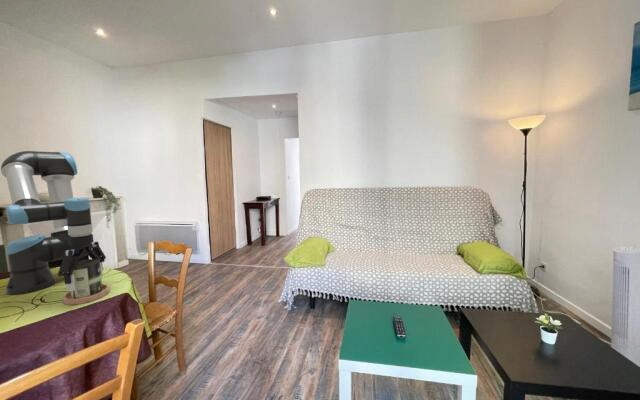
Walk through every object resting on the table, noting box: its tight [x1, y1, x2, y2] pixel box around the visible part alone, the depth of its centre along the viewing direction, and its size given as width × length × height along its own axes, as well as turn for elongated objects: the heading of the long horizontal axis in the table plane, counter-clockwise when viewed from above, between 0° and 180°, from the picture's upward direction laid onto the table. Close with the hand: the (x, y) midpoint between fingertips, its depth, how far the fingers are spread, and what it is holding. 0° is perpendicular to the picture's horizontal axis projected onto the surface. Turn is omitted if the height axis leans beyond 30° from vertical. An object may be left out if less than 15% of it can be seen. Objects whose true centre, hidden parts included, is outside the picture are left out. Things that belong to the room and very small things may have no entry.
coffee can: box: [68, 258, 103, 299], centre depth 109 cm, size 10×10×14 cm
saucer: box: [61, 283, 111, 306], centre depth 109 cm, size 15×15×2 cm
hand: (86, 283), depth 109 cm, fingers open, 13 cm apart
